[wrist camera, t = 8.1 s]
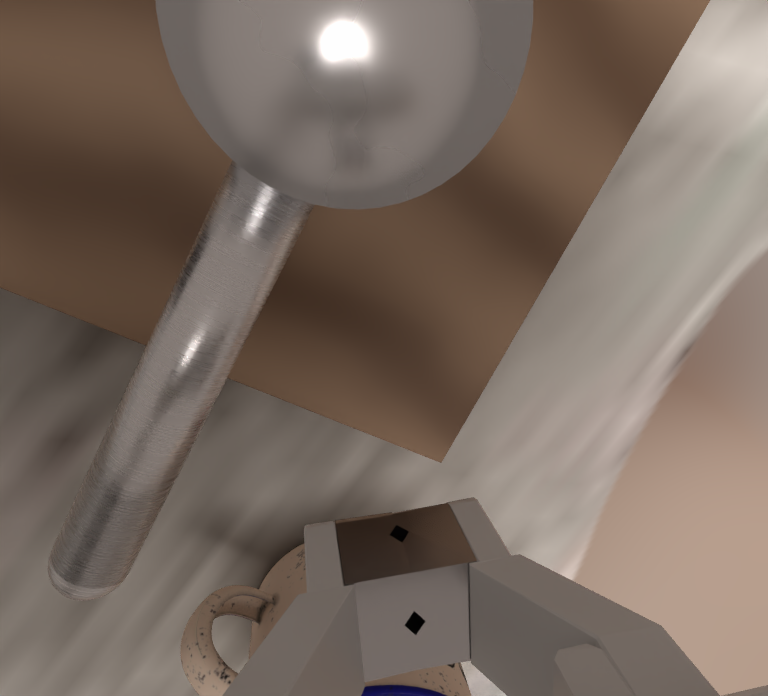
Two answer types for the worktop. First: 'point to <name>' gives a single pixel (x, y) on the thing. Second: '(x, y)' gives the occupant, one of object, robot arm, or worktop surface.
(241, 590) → the teacup with lid
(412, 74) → the grey rod with dome
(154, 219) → the stand
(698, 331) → the worktop surface
